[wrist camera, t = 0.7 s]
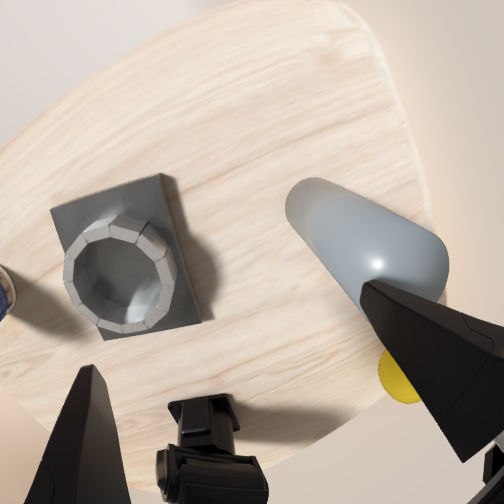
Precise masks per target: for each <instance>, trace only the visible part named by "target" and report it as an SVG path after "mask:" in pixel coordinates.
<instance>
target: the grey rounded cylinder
mask: <svg viewBox="0 0 504 504" xmlns="http://www.w3.org/2000/svg"><path fill="white" fill-rule="evenodd" d="M285 212H286V217H287V219H288V221H289V223H290V224H291V226H292V227H293V228H294V229H295V230H296V232H297V233H298V234H299V235H300V236H301V238H302V239H303V240H304V241H305V243H306V244H307V245H308V246H309V247H310V249H311V250H312V251H313V252H314V254H315V255H316V256H317V257H318V258H319V260H320V261H321V262H322V263H323V265H324V266H325V267H326V268H327V270H328V271H329V272H330V273H331V275H332V276H333V277H334V278H335V280H336V281H337V282H338V283H339V285H340V286H341V287H342V288H343V290H344V291H345V292H346V294H347V295H348V296H349V297H350V299H351V300H352V301H353V302H354V304H355V305H356V306H357V308H358V309H359V310H360V312H361V313H362V314H363V315H364V317H365V318H366V319H367V321H368V322H369V320H368V318H367V317H366V315H365V313H364V311H363V310H362V308H361V306H360V302H359V299H360V294H361V289H362V285H363V283H364V282H366V281H369V280H371V279H375V280H378V281H381V282H383V283H386V284H389V285H391V286H394V287H397V288H399V289H402V290H404V291H407V292H410V293H412V294H415V295H418V296H420V297H423V298H425V299H428V300H431V301H433V302H437V301H438V299H439V298H440V296H441V294H442V292H443V290H444V288H445V285H446V282H447V278H448V273H449V257H448V252H447V249H446V247H445V245H444V243H443V242H442V240H441V239H440V238H439V237H438V236H437V235H435V234H433V233H432V232H430V231H428V230H426V229H424V228H422V227H421V226H419V225H417V224H415V223H413V222H411V221H409V220H408V219H406V218H404V217H402V216H400V215H398V214H396V213H394V212H392V211H390V210H388V209H386V208H384V207H382V206H380V205H378V204H376V203H374V202H372V201H370V200H368V199H366V198H364V197H362V196H360V195H357V194H355V193H353V192H351V191H349V190H347V189H345V188H342V187H340V186H338V185H336V184H334V183H331V182H329V181H327V180H325V179H322V178H308V179H305V180H302V181H300V182H299V183H297V184H296V185H295V186H294V187H293V188H292V189H291V191H290V192H289V194H288V196H287V199H286V204H285ZM369 323H370V322H369ZM370 324H371V323H370Z"/></svg>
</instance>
